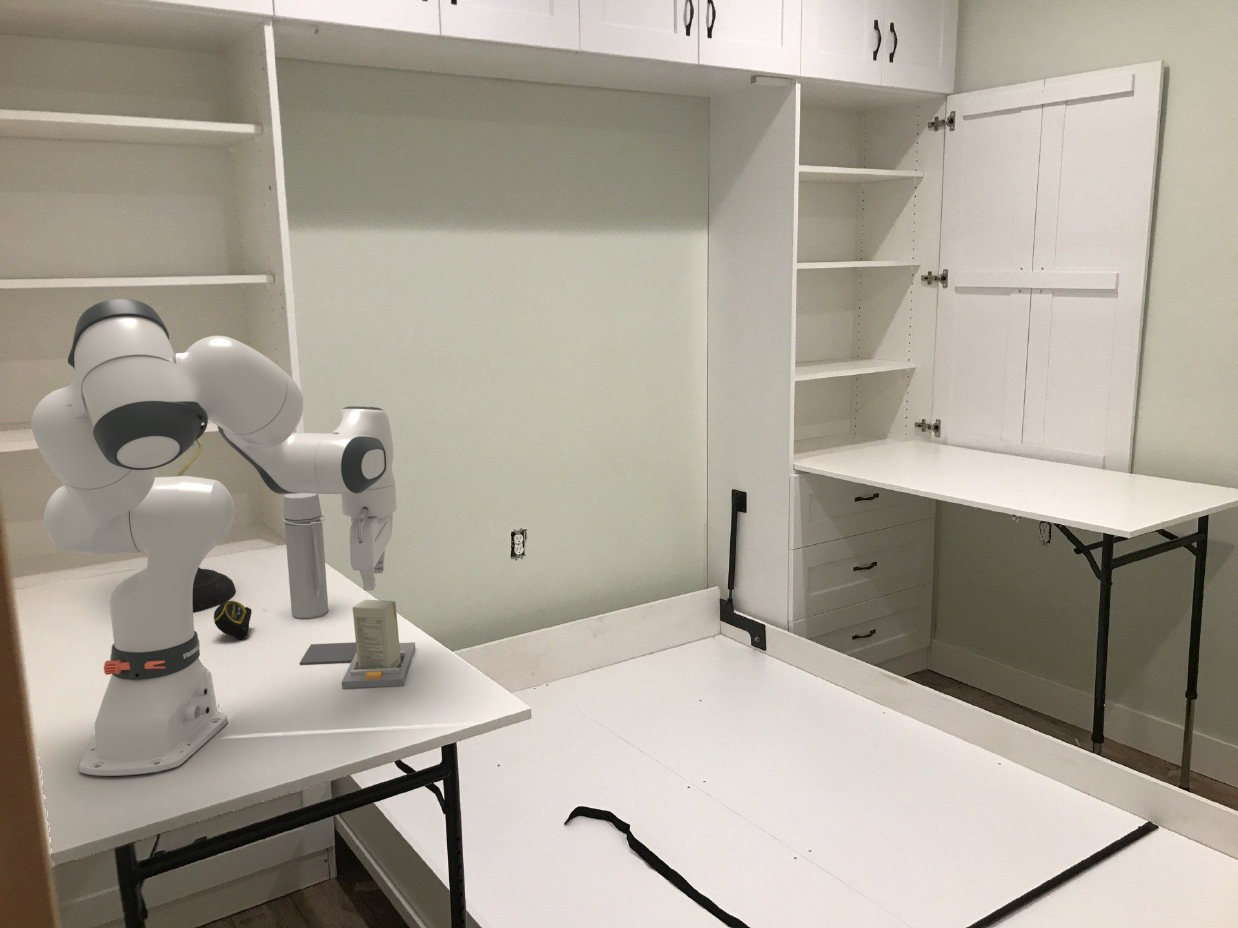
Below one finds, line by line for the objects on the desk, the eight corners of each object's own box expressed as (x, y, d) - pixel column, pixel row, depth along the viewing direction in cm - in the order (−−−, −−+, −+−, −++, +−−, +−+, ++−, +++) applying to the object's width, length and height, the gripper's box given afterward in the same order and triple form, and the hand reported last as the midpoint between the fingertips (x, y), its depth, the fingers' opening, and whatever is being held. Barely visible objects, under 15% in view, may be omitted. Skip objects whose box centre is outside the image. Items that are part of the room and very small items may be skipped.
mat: (351, 662, 174) (351, 660, 174) (299, 664, 173) (299, 662, 173) (360, 644, 182) (360, 641, 182) (311, 646, 182) (310, 644, 182)
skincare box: (402, 667, 171) (398, 600, 169) (389, 677, 167) (385, 608, 165) (369, 664, 173) (364, 598, 170) (356, 673, 169) (351, 605, 166)
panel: (403, 685, 163) (402, 675, 163) (342, 688, 162) (341, 678, 162) (415, 648, 180) (414, 639, 180) (359, 650, 179) (359, 641, 179)
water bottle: (283, 615, 199) (274, 495, 195) (319, 606, 205) (310, 488, 200) (305, 625, 193) (295, 501, 188) (341, 616, 198) (333, 495, 194)
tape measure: (239, 645, 186) (251, 633, 185) (206, 629, 183) (218, 617, 182) (244, 620, 192) (256, 608, 191) (213, 604, 188) (224, 592, 187)
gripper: (378, 515, 154) (383, 599, 157) (396, 487, 174) (401, 562, 177) (337, 517, 154) (343, 601, 156) (360, 489, 174) (365, 564, 176)
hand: (374, 580), depth 167 cm, fingers open, 8 cm apart
